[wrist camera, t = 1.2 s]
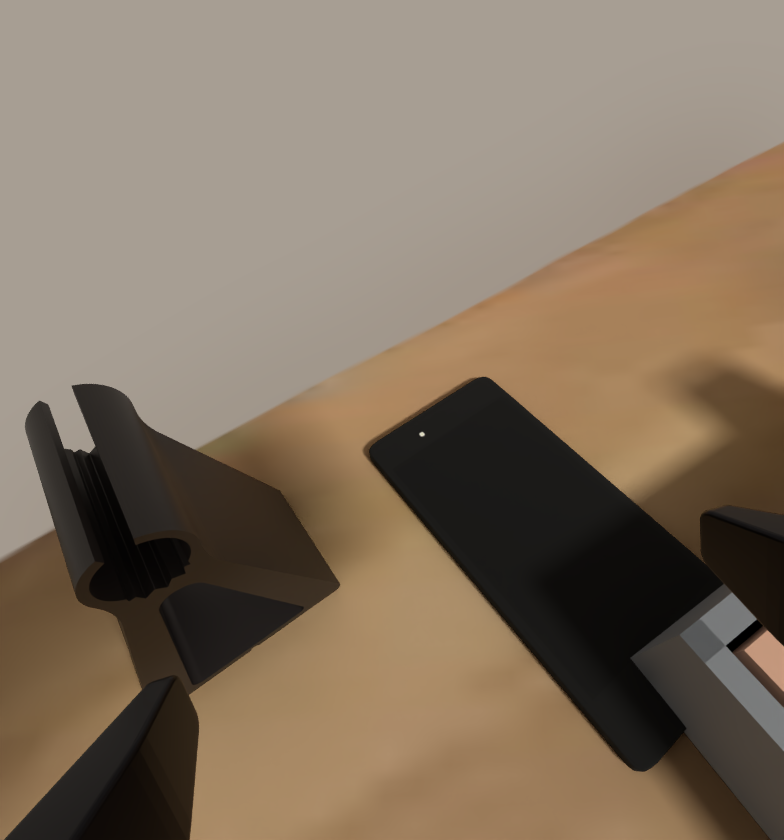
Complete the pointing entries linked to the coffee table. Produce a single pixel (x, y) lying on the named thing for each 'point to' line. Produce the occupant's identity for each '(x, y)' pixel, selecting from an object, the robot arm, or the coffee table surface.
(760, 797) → the flap frame
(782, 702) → the flap
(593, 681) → the cell phone
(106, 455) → the phone stand
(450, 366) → the coffee table surface
